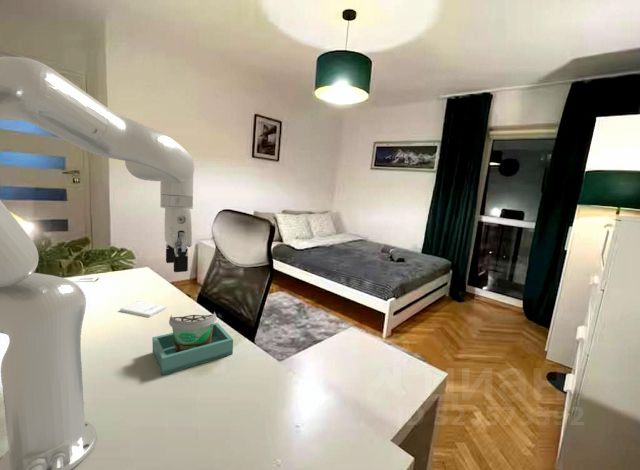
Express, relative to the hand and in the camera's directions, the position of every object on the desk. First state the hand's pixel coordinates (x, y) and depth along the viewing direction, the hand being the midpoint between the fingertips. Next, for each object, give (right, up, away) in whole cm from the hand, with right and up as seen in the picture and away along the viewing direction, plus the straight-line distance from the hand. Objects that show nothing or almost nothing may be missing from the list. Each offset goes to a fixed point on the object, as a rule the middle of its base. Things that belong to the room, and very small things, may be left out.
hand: (176, 266), depth 80 cm
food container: (+3, -24, +3) cm, 24 cm away
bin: (+3, -25, +4) cm, 25 cm away
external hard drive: (-26, -19, +29) cm, 43 cm away
